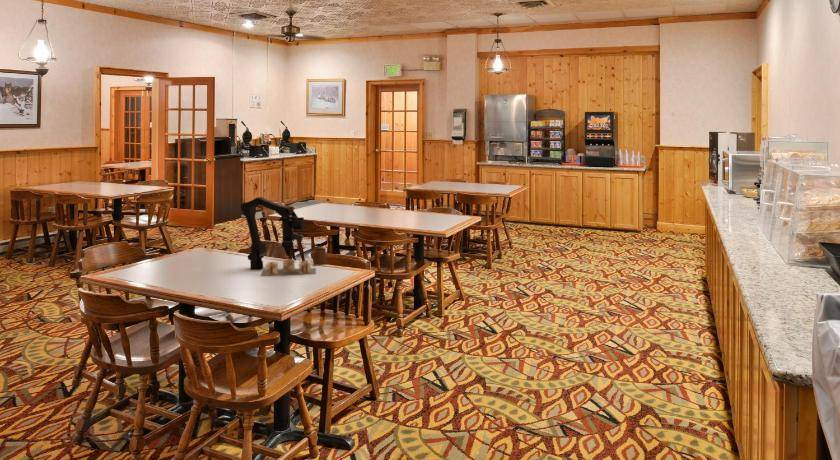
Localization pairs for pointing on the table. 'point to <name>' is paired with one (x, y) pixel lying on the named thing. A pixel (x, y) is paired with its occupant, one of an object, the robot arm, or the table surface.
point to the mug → (319, 256)
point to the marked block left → (271, 268)
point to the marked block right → (304, 267)
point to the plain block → (288, 265)
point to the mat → (296, 272)
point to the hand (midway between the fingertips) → (288, 256)
